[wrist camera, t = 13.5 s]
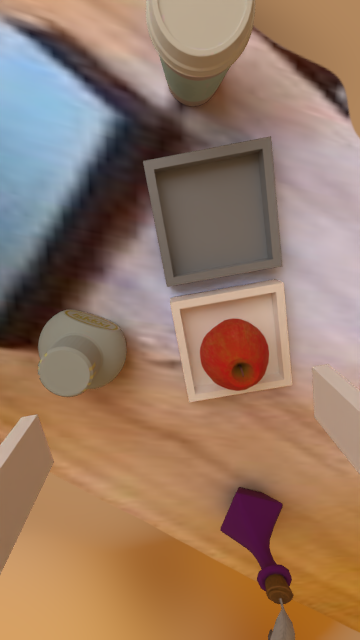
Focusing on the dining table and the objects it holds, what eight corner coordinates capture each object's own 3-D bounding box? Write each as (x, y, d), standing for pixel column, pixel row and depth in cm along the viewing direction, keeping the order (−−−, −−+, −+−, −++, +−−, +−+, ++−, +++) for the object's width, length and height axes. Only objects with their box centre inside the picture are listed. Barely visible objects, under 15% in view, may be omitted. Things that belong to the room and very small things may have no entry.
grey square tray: (167, 283, 40) (167, 286, 37) (145, 166, 36) (143, 161, 33) (274, 263, 40) (282, 266, 37) (263, 143, 36) (270, 136, 33)
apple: (219, 299, 40) (235, 322, 30) (270, 330, 41) (302, 363, 31) (185, 349, 42) (189, 388, 31) (235, 378, 43) (255, 424, 33)
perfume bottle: (232, 476, 49) (264, 610, 31) (276, 486, 49) (331, 624, 32) (217, 512, 51) (239, 657, 33) (259, 521, 51) (302, 669, 34)
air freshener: (136, 327, 42) (125, 355, 32) (118, 379, 44) (103, 420, 34) (57, 300, 40) (21, 321, 31) (43, 355, 43) (4, 391, 33)
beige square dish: (188, 391, 44) (189, 402, 42) (170, 297, 41) (170, 302, 38) (284, 375, 44) (292, 385, 41) (275, 279, 40) (283, 282, 37)
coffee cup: (240, 41, 33) (276, -61, 22) (220, 128, 35) (242, 78, 24) (163, 18, 32) (156, -100, 21) (147, 109, 35) (133, 47, 23)
